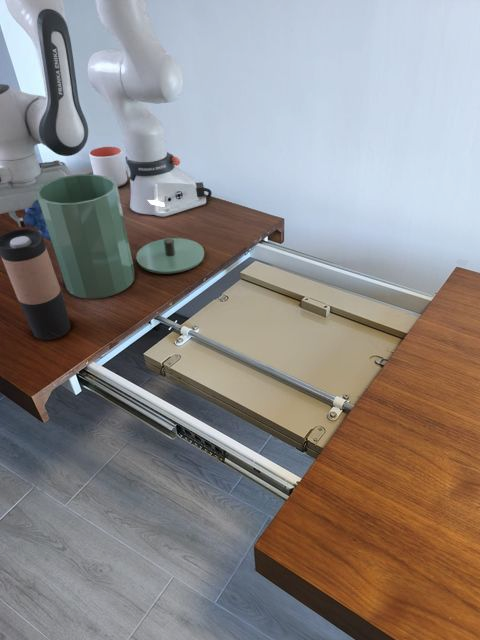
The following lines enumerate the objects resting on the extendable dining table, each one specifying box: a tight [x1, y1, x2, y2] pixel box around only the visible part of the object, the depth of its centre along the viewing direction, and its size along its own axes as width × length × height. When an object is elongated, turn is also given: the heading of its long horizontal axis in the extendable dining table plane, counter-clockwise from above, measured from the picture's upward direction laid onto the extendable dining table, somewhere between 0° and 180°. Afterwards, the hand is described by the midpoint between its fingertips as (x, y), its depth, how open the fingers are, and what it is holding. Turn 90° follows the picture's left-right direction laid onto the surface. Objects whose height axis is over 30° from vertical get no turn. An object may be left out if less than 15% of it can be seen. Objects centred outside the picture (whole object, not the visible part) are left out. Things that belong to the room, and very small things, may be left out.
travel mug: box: [0, 228, 71, 341], centre depth 88 cm, size 8×8×20 cm
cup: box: [88, 146, 128, 188], centre depth 149 cm, size 10×10×10 cm
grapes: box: [23, 200, 51, 242], centre depth 116 cm, size 12×7×12 cm, turn 47°
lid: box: [135, 237, 205, 275], centre depth 115 cm, size 16×16×5 cm
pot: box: [36, 173, 136, 300], centre depth 102 cm, size 15×15×22 cm
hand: (38, 223), depth 117 cm, fingers closed on grapes, 6 cm apart
